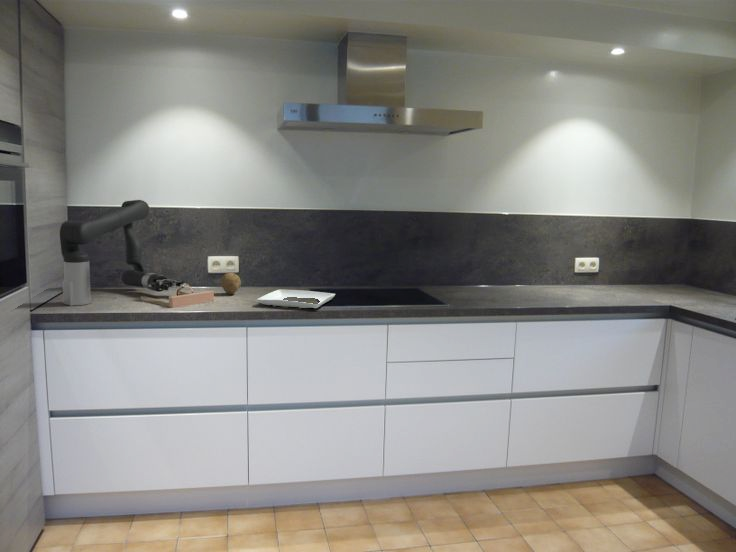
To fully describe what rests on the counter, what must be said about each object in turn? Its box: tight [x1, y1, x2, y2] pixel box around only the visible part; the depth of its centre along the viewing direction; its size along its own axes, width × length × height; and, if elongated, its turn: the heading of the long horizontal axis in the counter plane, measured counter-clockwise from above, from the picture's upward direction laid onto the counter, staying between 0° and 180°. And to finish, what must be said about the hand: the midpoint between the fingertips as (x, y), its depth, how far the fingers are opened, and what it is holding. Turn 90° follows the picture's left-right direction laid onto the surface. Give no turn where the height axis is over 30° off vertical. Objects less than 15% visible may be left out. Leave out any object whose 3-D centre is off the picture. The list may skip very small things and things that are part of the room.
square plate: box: [256, 289, 336, 309], centre depth 257 cm, size 27×27×4 cm
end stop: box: [168, 290, 215, 309], centre depth 248 cm, size 20×2×4 cm, turn 143°
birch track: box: [140, 290, 192, 308], centre depth 254 cm, size 20×20×2 cm
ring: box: [176, 282, 195, 296], centre depth 250 cm, size 7×3×8 cm, turn 99°
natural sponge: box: [220, 272, 242, 296], centre depth 271 cm, size 9×9×10 cm
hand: (176, 286), depth 253 cm, fingers open, 8 cm apart
